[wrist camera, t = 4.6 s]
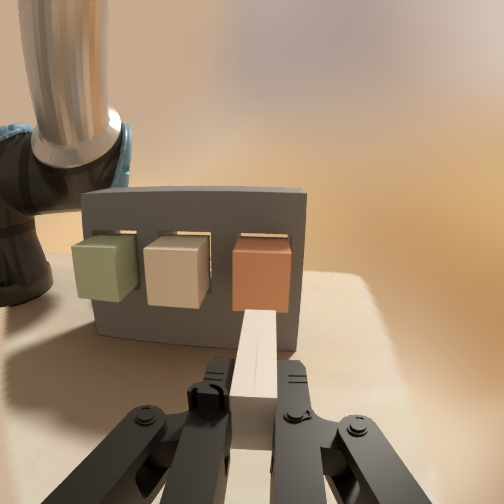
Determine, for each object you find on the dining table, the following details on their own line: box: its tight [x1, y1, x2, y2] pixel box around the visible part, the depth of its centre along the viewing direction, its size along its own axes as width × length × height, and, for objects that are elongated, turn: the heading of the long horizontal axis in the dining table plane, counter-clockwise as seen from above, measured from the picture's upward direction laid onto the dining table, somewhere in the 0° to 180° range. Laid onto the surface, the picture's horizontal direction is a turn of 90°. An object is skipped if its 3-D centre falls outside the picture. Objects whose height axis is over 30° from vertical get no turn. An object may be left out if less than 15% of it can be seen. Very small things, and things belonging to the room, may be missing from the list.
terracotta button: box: [233, 236, 291, 313], centre depth 25 cm, size 4×5×4 cm
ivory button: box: [143, 234, 210, 309], centre depth 25 cm, size 4×5×4 cm
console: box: [81, 186, 307, 351], centre depth 30 cm, size 20×6×14 cm, turn 87°
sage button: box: [71, 233, 140, 302], centre depth 26 cm, size 4×5×4 cm
